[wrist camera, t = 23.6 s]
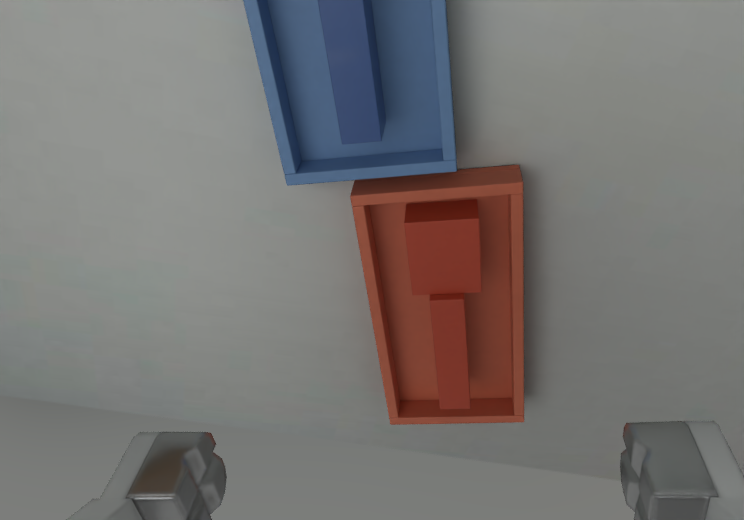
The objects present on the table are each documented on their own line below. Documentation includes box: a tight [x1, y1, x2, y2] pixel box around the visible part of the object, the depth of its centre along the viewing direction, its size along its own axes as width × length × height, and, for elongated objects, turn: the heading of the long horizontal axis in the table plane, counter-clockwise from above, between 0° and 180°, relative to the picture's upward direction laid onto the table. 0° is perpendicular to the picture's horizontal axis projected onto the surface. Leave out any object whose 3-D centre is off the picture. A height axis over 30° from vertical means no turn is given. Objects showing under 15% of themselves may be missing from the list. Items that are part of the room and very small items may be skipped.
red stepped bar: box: [404, 199, 482, 409], centre depth 33 cm, size 12×4×2 cm, turn 7°
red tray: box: [350, 165, 524, 425], centre depth 34 cm, size 16×8×2 cm, turn 8°
